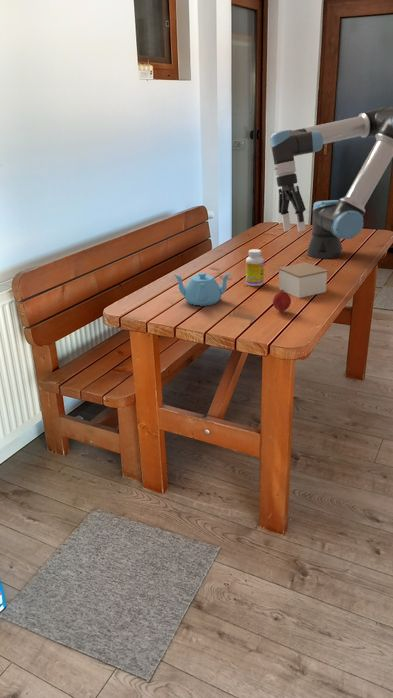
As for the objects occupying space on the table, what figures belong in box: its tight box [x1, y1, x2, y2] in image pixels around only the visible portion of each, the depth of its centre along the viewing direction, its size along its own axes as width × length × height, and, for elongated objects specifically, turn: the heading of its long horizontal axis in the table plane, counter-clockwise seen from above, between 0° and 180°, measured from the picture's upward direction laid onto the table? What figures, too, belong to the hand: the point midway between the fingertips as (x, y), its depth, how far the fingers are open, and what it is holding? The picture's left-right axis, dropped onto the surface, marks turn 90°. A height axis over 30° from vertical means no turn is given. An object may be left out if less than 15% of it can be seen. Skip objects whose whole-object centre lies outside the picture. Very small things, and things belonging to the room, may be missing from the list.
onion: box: [272, 289, 292, 313], centre depth 187 cm, size 6×6×8 cm
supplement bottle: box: [245, 248, 265, 287], centre depth 215 cm, size 7×7×13 cm
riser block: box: [278, 262, 329, 299], centre depth 207 cm, size 12×12×8 cm
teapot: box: [173, 271, 232, 307], centre depth 200 cm, size 15×15×10 cm
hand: (294, 230), depth 222 cm, fingers open, 13 cm apart
